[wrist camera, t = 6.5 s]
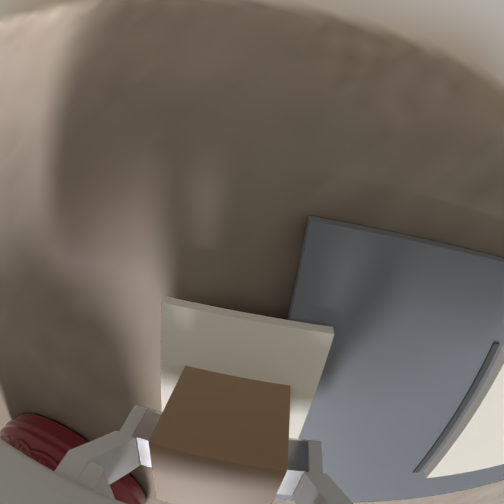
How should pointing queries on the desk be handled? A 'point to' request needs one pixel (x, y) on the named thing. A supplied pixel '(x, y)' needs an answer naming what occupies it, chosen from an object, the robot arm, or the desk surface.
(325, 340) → the tan cube with base
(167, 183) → the desk surface
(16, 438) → the canister
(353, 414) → the board
